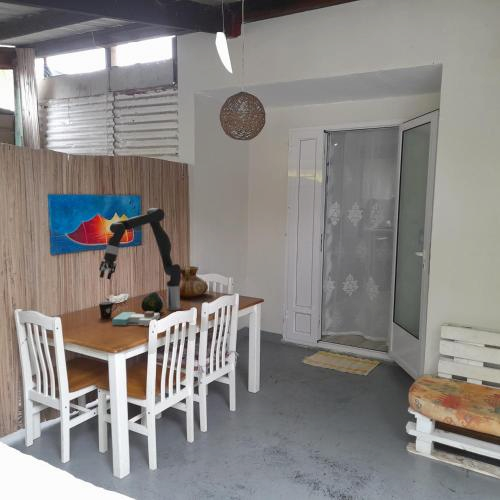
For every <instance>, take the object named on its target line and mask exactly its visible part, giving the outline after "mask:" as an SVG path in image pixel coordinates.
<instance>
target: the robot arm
mask: <svg viewBox="0 0 500 500" xmlns="http://www.w3.org/2000/svg"><path fill="white" fill-rule="evenodd" d="M165 217H166V216H165V211H164V210H163V209H162V208H159V207H156V208H155V207H151V208H149V209H148V210H147V211H146V214H143V215H136V216H133V217H130V218H127V219H124V220H120V221H115V222H112V223H111V224H110V225H109V231H110V232H111V233H112V234H113V235H112V236H110V237H109V238H108V242H107V245H106V248H105V251H104V255H103V260H102V261H101V263H100V265H99V270H98V271H100V275H99V278H101V279H103V278H104V277H105V272H106V270H107V271H108V272H107V275H106V276H107V277H106V279H107V280H111V279H112V275H113V274H115V272H116V267H117V263H115V262H116V260H117V257H118V254H119V247H120V244H121V241H122V240H123V237H124V235H125V233H126V231H130V230H133V229H136V228H139V227H141V226H144V225H147V224H149V225H150V228H151V229H152V232H153V235H154V239H155V243H156V245H157V248H158V250H159V255H160V258H161V261H162V266H163V271H164V274H166V275H167V276H169V280H168V281H167V280H166V281H167V282H166V309H167V310H169V311H177V310H180V308H181V298H180V281H181V277H182V274H181V265H180V264H178V263H174V262H173V260H172V257H171V252H172V251H171V250H172V243H171V240H170V237H169V235H168V233H167V232H166V231H165V230H164V229H163V226H162V225H161V223H160V222H161V221H163V220H164V218H165Z"/></svg>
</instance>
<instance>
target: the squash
mask: <svg viewBox="0 0 500 500" xmlns="http://www.w3.org/2000/svg"><path fill="white" fill-rule="evenodd" d="M163 307H164V305H163V299H162V298H161V297H160V296H159V294H158V293H157V292H151V293H150V294H147V296H145V297H144V298H143V299H142V301H141V309H142V311H143V312H144V313H145V312H146V311H154V313H159V312H161V311H162V309H163Z"/></svg>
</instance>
